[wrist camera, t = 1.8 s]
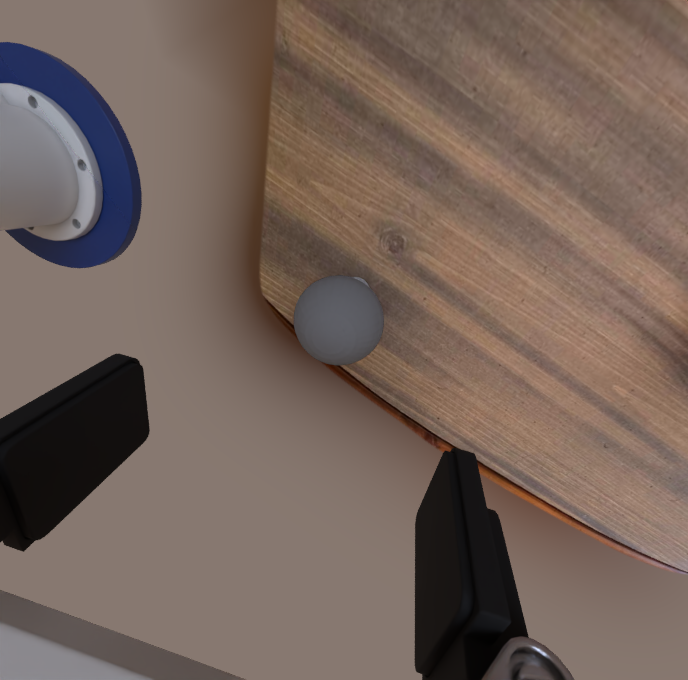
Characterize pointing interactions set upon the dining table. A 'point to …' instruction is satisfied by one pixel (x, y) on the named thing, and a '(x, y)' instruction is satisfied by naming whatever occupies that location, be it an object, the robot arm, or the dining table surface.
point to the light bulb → (338, 320)
